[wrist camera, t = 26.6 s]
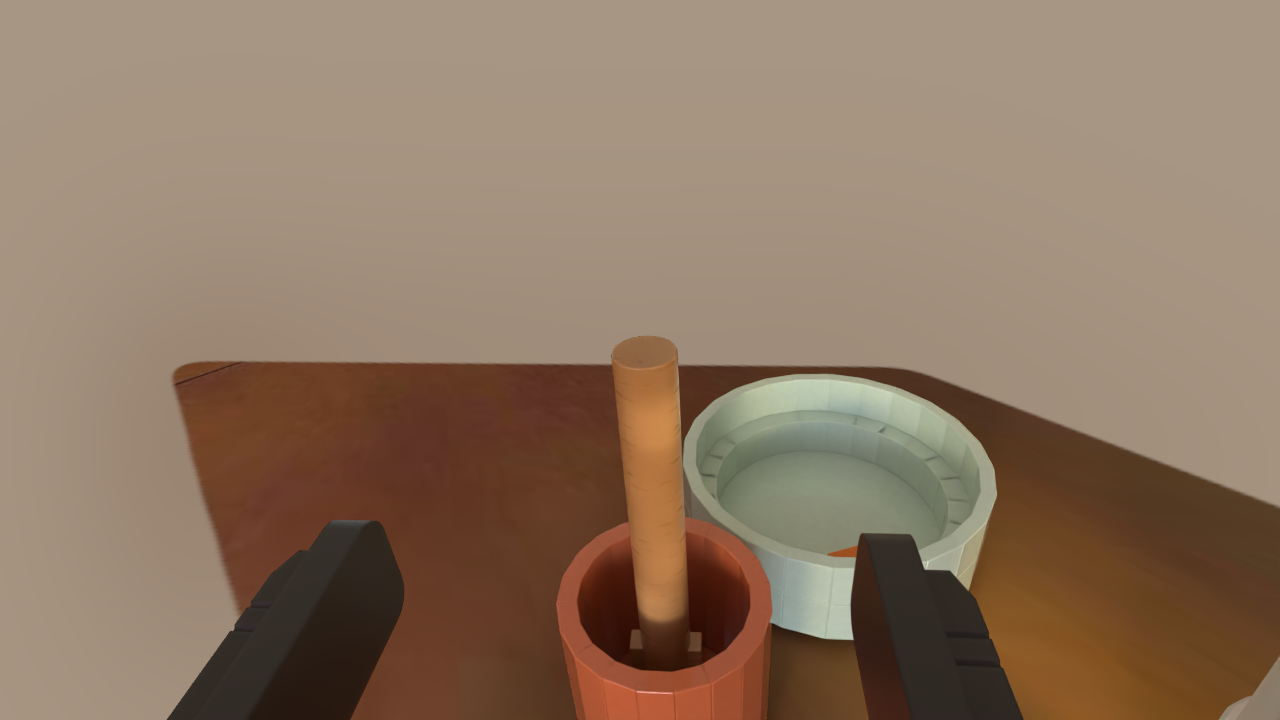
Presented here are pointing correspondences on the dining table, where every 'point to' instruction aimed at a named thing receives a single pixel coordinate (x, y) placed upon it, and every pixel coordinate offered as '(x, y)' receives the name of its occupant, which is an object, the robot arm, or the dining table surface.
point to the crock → (718, 608)
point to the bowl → (835, 485)
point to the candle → (1259, 700)
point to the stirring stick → (655, 502)
